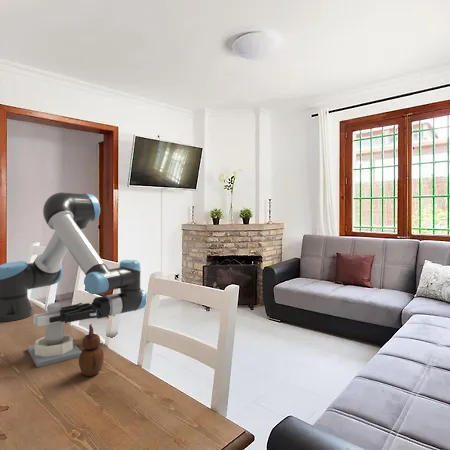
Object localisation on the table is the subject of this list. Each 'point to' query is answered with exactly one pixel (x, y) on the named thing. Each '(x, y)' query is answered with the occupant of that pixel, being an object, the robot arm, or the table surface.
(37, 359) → the slate board
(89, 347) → the wooden figurine
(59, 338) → the salt shaker
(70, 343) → the ring holder
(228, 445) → the table surface
